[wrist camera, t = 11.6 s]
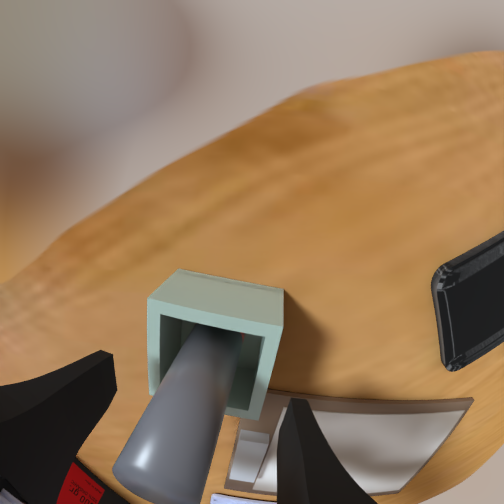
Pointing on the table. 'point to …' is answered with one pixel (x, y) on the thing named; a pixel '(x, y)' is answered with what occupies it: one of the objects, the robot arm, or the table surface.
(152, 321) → the box
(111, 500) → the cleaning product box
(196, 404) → the marker
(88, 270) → the table surface
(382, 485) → the clipboard
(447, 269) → the phone
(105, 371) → the robot arm
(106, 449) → the table surface
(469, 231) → the table surface
